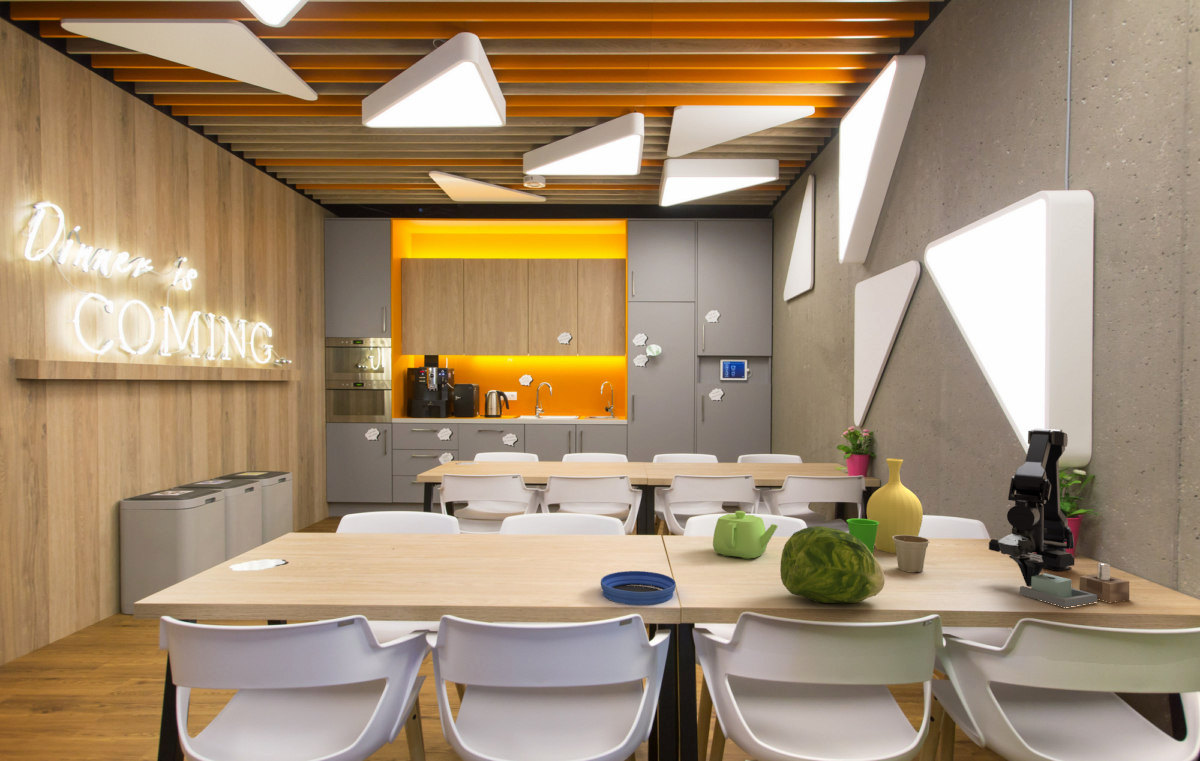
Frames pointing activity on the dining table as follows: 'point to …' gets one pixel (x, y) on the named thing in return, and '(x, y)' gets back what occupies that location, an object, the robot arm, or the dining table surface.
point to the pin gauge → (1104, 571)
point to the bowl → (637, 587)
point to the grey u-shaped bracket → (1076, 599)
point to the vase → (894, 510)
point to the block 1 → (1052, 585)
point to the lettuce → (830, 566)
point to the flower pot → (910, 552)
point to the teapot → (741, 535)
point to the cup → (864, 531)
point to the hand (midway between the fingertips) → (1029, 586)
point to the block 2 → (1105, 588)
